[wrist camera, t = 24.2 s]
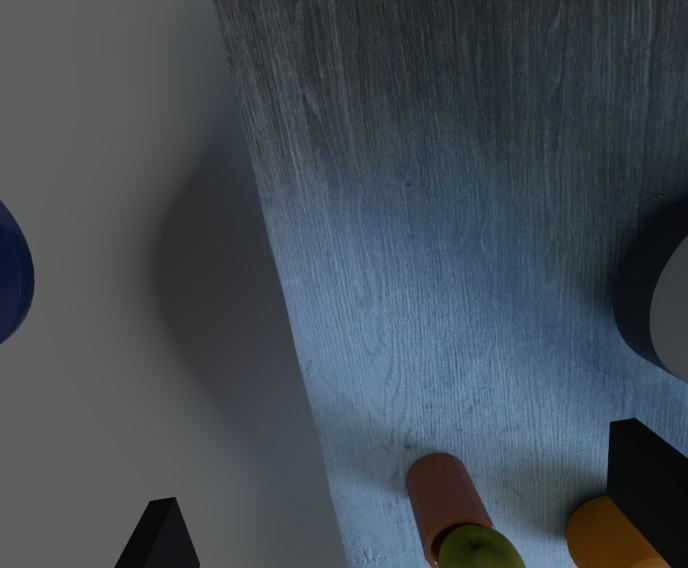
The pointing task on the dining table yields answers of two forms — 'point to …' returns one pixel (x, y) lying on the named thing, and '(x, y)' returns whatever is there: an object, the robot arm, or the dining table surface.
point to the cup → (443, 501)
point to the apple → (478, 549)
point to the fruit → (608, 539)
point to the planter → (657, 292)
